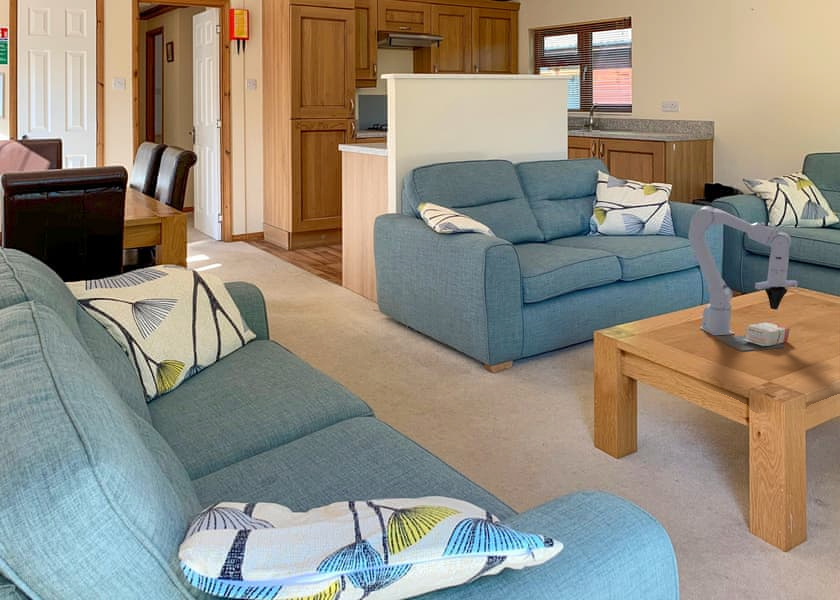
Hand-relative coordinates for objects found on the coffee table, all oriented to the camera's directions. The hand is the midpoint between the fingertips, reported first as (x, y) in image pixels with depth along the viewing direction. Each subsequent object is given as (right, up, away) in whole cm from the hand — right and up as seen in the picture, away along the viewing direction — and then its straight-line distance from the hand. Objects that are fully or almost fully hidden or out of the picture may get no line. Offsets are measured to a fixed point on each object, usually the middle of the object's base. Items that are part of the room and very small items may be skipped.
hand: (773, 308), depth 258 cm
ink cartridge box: (+2, -8, +1) cm, 8 cm away
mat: (-9, -11, -2) cm, 15 cm away
